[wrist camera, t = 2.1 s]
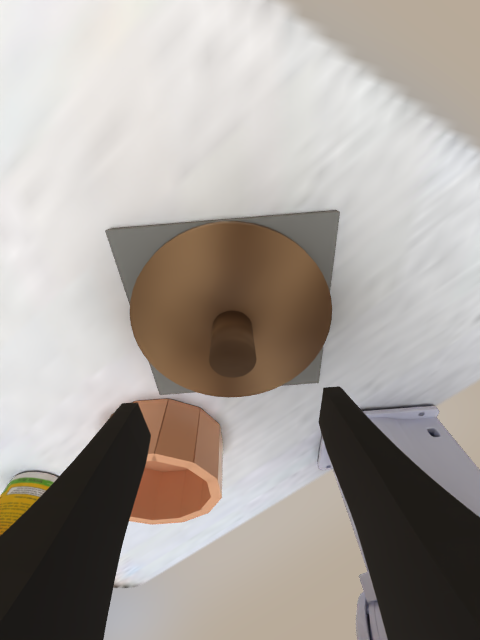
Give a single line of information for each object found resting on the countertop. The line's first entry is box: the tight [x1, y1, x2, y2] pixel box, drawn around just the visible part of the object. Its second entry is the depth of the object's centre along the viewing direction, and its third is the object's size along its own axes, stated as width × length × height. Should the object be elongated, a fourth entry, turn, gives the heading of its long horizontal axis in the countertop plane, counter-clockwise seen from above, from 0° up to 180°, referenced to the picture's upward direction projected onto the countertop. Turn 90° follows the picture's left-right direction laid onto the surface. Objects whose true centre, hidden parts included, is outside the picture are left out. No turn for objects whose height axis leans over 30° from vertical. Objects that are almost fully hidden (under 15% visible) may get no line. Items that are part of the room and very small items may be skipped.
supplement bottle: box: [0, 472, 58, 536], centre depth 22 cm, size 5×5×10 cm
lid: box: [130, 221, 332, 397], centre depth 15 cm, size 12×12×4 cm
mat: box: [105, 210, 340, 395], centre depth 16 cm, size 12×12×1 cm
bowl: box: [111, 399, 223, 524], centre depth 21 cm, size 10×10×4 cm
